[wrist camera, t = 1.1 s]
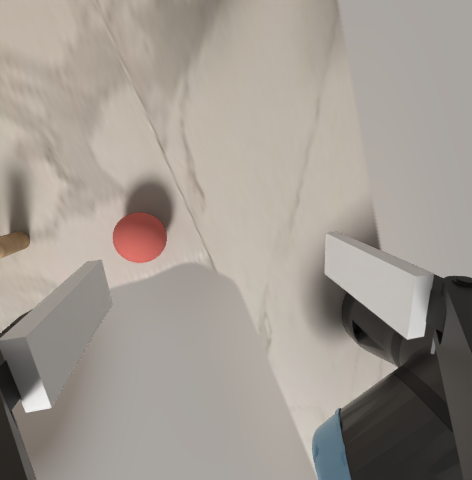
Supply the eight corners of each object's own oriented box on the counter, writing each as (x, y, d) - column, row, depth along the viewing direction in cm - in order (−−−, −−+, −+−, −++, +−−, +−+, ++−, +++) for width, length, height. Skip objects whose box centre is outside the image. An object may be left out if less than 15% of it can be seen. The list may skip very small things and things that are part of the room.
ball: (176, 220, 33) (171, 229, 27) (159, 260, 34) (151, 277, 28) (131, 201, 32) (115, 207, 26) (114, 244, 33) (97, 258, 27)
